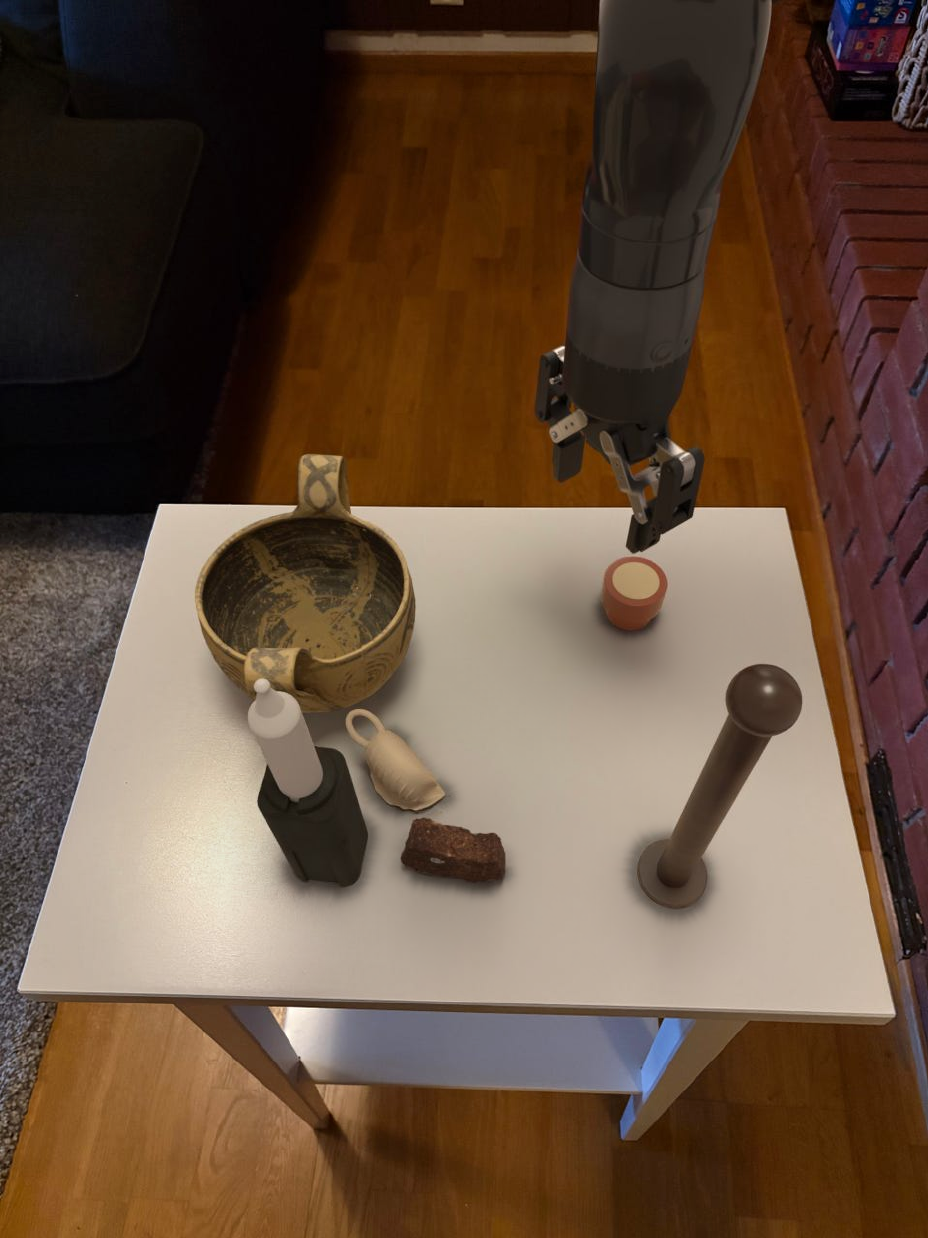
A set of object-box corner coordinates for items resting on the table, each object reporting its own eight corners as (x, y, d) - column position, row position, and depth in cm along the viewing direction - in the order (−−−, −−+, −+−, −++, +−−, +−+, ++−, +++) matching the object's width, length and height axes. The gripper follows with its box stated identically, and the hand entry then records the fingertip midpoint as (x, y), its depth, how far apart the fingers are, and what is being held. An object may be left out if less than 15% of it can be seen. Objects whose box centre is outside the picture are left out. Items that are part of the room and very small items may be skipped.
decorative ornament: (404, 827, 67) (399, 800, 62) (345, 749, 71) (336, 718, 66) (447, 797, 68) (444, 768, 64) (386, 722, 72) (380, 690, 68)
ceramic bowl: (405, 784, 69) (388, 688, 56) (195, 770, 70) (134, 673, 58) (433, 564, 81) (424, 446, 69) (255, 555, 83) (215, 437, 70)
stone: (400, 872, 65) (395, 848, 61) (409, 833, 66) (404, 807, 62) (503, 889, 64) (504, 866, 60) (509, 849, 66) (510, 824, 61)
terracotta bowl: (670, 605, 78) (679, 574, 74) (639, 646, 76) (647, 616, 72) (618, 577, 80) (624, 546, 76) (587, 616, 78) (592, 585, 74)
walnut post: (717, 867, 64) (844, 671, 42) (685, 922, 62) (800, 747, 39) (658, 829, 66) (749, 621, 43) (624, 881, 64) (701, 691, 41)
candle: (290, 880, 65) (198, 719, 44) (306, 815, 67) (227, 636, 47) (357, 889, 64) (295, 730, 44) (370, 823, 67) (319, 646, 46)
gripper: (765, 363, 49) (706, 548, 62) (604, 245, 56) (582, 434, 69) (663, 415, 46) (624, 596, 60) (508, 286, 53) (505, 474, 67)
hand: (601, 509), depth 64 cm, fingers open, 8 cm apart
